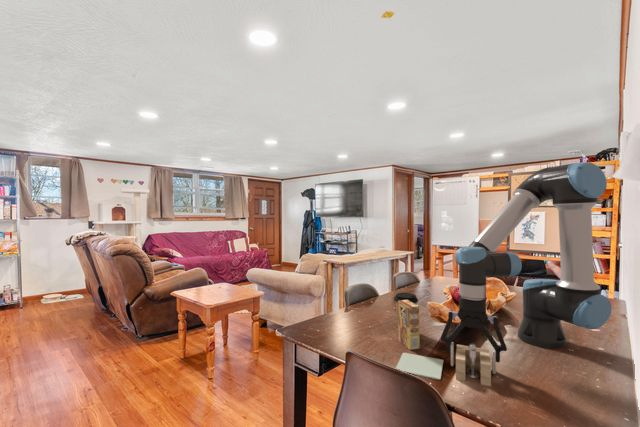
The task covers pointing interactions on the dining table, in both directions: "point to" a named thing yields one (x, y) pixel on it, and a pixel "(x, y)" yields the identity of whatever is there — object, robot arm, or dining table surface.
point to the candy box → (408, 324)
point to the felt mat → (421, 365)
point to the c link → (481, 363)
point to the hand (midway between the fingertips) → (472, 368)
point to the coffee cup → (404, 296)
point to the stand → (472, 362)
